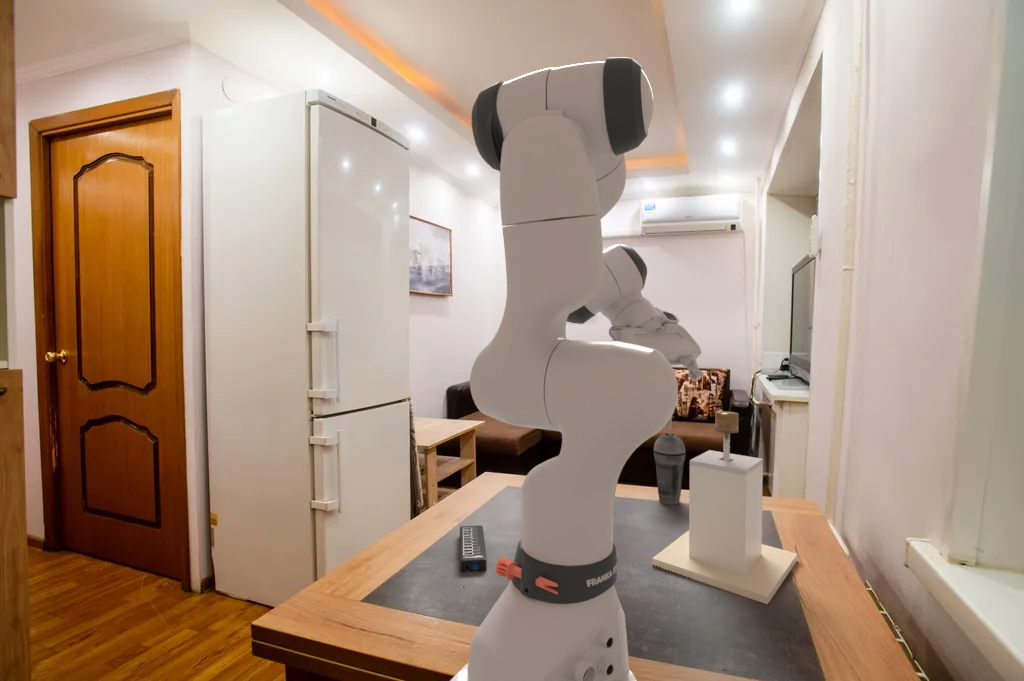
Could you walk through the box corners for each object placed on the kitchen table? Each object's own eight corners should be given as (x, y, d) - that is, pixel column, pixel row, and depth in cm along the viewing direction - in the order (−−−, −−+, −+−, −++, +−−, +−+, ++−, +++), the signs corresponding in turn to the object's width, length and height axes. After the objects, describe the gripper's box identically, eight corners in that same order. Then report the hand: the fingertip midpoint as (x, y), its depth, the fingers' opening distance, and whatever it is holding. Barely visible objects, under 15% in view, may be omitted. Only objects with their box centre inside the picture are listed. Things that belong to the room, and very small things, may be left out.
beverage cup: (681, 496, 118) (682, 412, 118) (689, 507, 111) (690, 418, 111) (650, 495, 119) (650, 411, 119) (656, 506, 112) (656, 417, 111)
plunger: (740, 532, 80) (741, 418, 80) (697, 520, 85) (698, 413, 84) (754, 519, 86) (755, 412, 85) (712, 509, 90) (713, 408, 90)
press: (767, 604, 73) (769, 483, 72) (652, 565, 85) (652, 461, 84) (797, 560, 86) (798, 458, 86) (694, 531, 98) (694, 441, 98)
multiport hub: (482, 536, 98) (482, 524, 97) (486, 573, 83) (486, 559, 83) (459, 537, 97) (459, 526, 97) (460, 574, 83) (460, 561, 83)
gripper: (614, 314, 90) (660, 372, 83) (680, 314, 103) (725, 365, 95) (595, 338, 94) (638, 396, 86) (661, 336, 106) (703, 386, 99)
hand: (684, 380), depth 91 cm, fingers open, 8 cm apart
